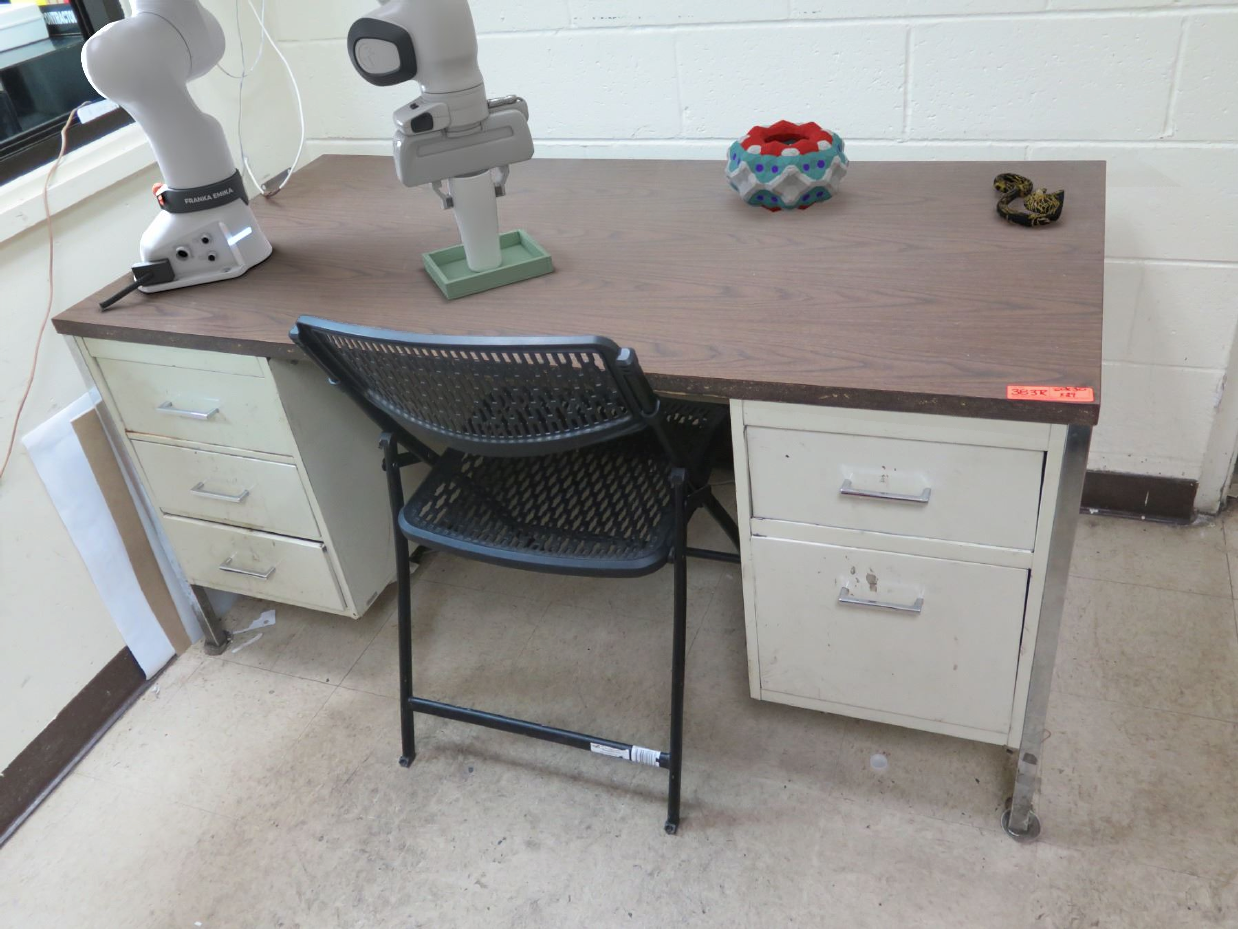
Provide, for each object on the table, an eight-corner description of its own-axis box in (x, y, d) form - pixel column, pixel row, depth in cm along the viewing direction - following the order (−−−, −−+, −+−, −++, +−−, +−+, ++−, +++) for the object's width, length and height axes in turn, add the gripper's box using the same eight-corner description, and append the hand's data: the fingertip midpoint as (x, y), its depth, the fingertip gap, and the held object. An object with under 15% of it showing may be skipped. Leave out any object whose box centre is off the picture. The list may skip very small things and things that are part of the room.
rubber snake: (999, 153, 156) (1066, 159, 154) (993, 181, 159) (1059, 187, 156) (991, 198, 143) (1065, 205, 140) (985, 228, 146) (1057, 235, 143)
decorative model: (810, 80, 163) (845, 109, 146) (839, 157, 170) (876, 194, 154) (705, 136, 166) (728, 171, 149) (738, 210, 174) (763, 251, 157)
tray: (448, 300, 145) (445, 283, 143) (425, 269, 155) (421, 253, 154) (553, 271, 149) (551, 255, 148) (524, 243, 160) (521, 228, 158)
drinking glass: (475, 256, 156) (458, 162, 147) (514, 258, 153) (499, 163, 145) (456, 274, 150) (436, 177, 142) (496, 276, 148) (479, 179, 140)
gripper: (518, 87, 143) (532, 180, 151) (381, 115, 138) (402, 211, 146) (532, 96, 139) (546, 191, 146) (391, 126, 133) (413, 223, 141)
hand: (473, 201), depth 146 cm, fingers closed on drinking glass, 7 cm apart
